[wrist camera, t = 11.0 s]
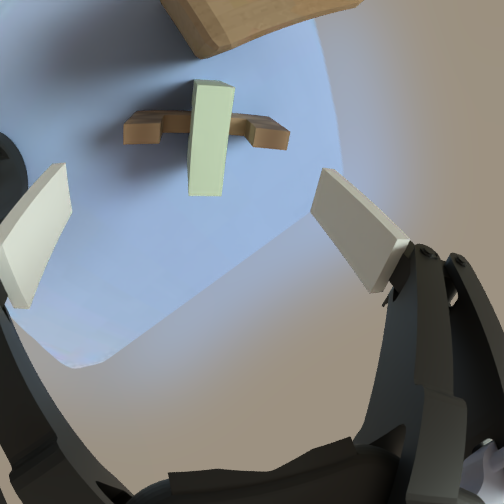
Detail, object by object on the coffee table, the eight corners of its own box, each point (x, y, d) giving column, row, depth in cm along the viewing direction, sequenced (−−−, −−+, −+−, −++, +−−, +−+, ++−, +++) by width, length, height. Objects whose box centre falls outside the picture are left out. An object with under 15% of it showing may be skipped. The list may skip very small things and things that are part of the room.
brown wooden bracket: (136, 126, 29) (123, 144, 23) (136, 110, 28) (123, 124, 22) (266, 131, 34) (286, 150, 27) (268, 116, 32) (290, 131, 26)
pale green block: (210, 158, 34) (221, 196, 26) (186, 157, 33) (188, 195, 25) (219, 80, 28) (235, 87, 20) (194, 79, 28) (197, 84, 19)
